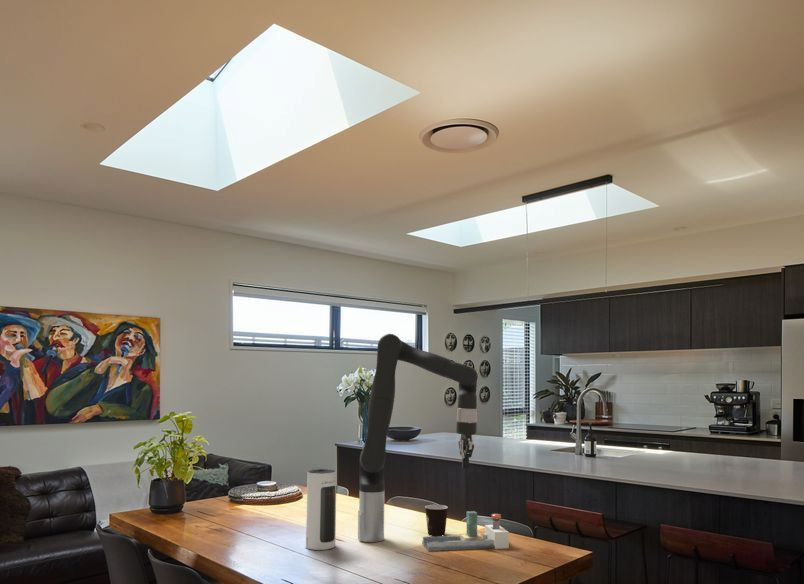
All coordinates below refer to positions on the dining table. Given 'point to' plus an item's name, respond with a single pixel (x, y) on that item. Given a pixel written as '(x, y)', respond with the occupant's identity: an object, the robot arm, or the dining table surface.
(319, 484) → the speaker
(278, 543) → the dining table surface
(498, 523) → the gauge plunger
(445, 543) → the rail bed
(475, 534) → the carriage
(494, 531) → the end cabinet
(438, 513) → the coffee mug
